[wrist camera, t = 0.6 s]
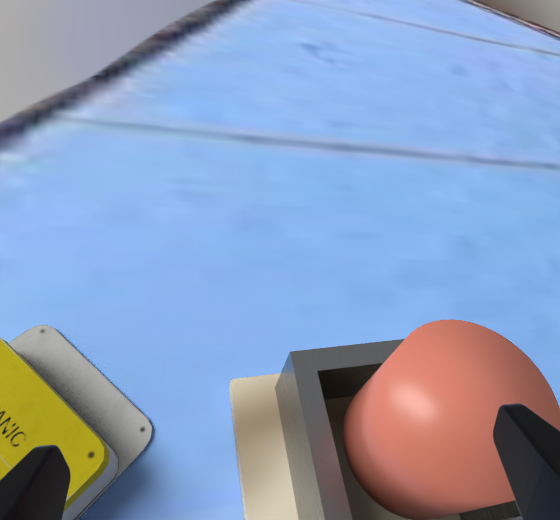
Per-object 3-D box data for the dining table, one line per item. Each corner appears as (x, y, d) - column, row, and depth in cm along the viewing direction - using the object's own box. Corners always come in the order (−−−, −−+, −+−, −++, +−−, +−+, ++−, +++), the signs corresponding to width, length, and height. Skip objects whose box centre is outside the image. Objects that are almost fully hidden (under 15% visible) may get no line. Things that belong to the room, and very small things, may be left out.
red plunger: (496, 505, 17) (600, 481, 13) (365, 534, 16) (430, 518, 12) (442, 369, 20) (510, 313, 16) (328, 384, 19) (368, 327, 15)
